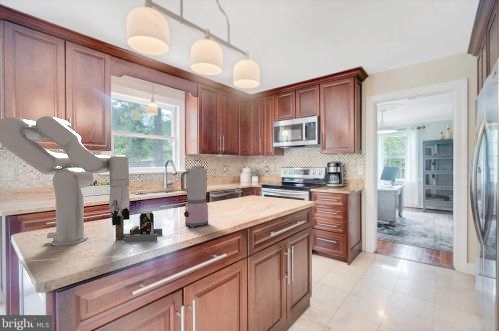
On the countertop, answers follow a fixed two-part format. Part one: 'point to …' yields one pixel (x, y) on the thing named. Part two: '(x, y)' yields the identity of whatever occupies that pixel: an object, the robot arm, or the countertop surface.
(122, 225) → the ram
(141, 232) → the beverage can
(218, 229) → the countertop surface
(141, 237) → the channel
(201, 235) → the countertop surface
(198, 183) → the blender
